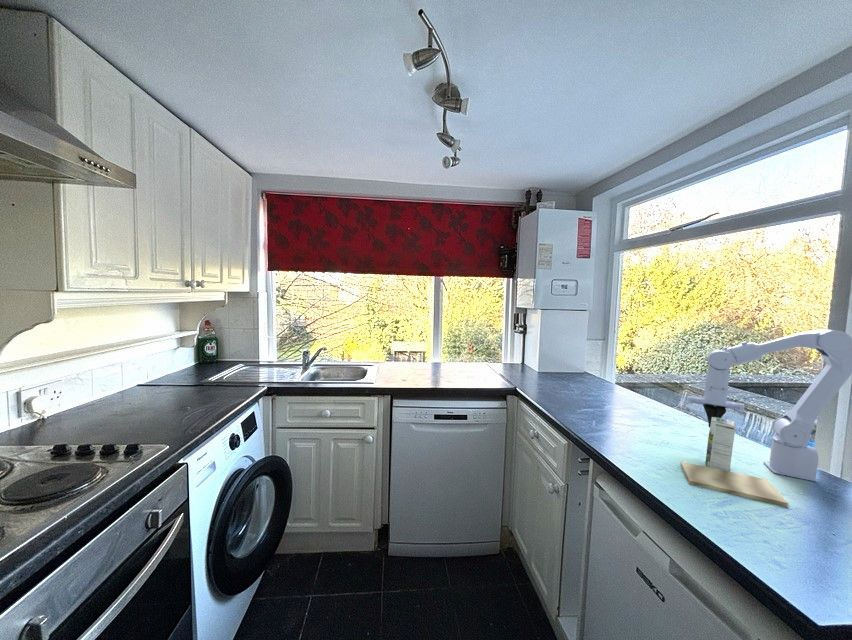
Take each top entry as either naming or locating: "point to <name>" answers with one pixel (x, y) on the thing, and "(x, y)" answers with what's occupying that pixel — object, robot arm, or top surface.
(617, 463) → the top surface
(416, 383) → the top surface
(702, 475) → the bamboo board
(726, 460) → the syrup box
